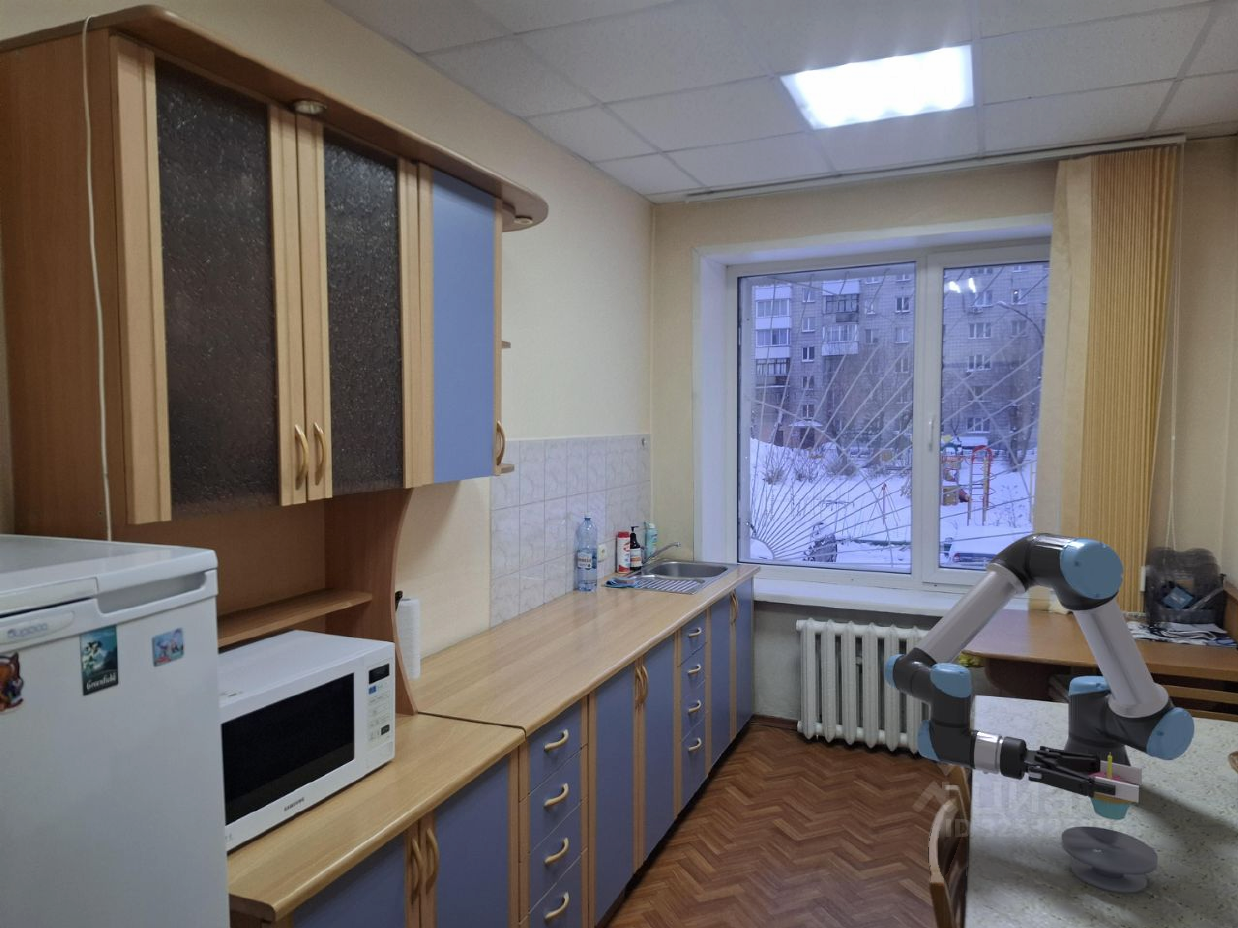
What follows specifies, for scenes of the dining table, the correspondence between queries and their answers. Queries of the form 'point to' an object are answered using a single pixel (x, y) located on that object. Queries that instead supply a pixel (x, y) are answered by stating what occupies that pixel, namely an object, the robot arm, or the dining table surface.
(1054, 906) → the dining table surface
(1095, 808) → the cupcake
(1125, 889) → the cake stand
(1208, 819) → the dining table surface
